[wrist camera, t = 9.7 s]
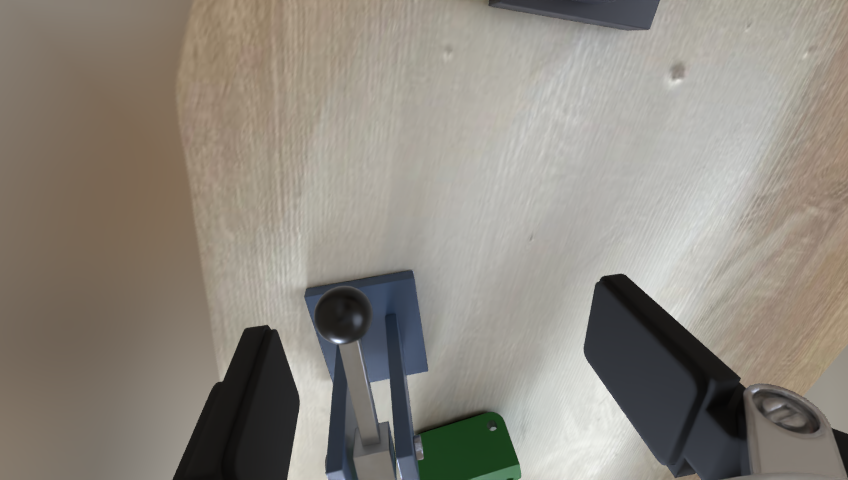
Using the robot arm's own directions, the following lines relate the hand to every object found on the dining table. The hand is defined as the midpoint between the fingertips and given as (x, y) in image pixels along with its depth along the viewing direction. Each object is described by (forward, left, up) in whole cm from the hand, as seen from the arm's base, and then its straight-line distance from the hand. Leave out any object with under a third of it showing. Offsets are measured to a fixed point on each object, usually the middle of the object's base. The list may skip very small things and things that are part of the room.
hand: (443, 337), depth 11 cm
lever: (+4, -10, -9) cm, 15 cm away
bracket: (+8, -14, -18) cm, 24 cm away
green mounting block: (+26, -22, -19) cm, 38 cm away
